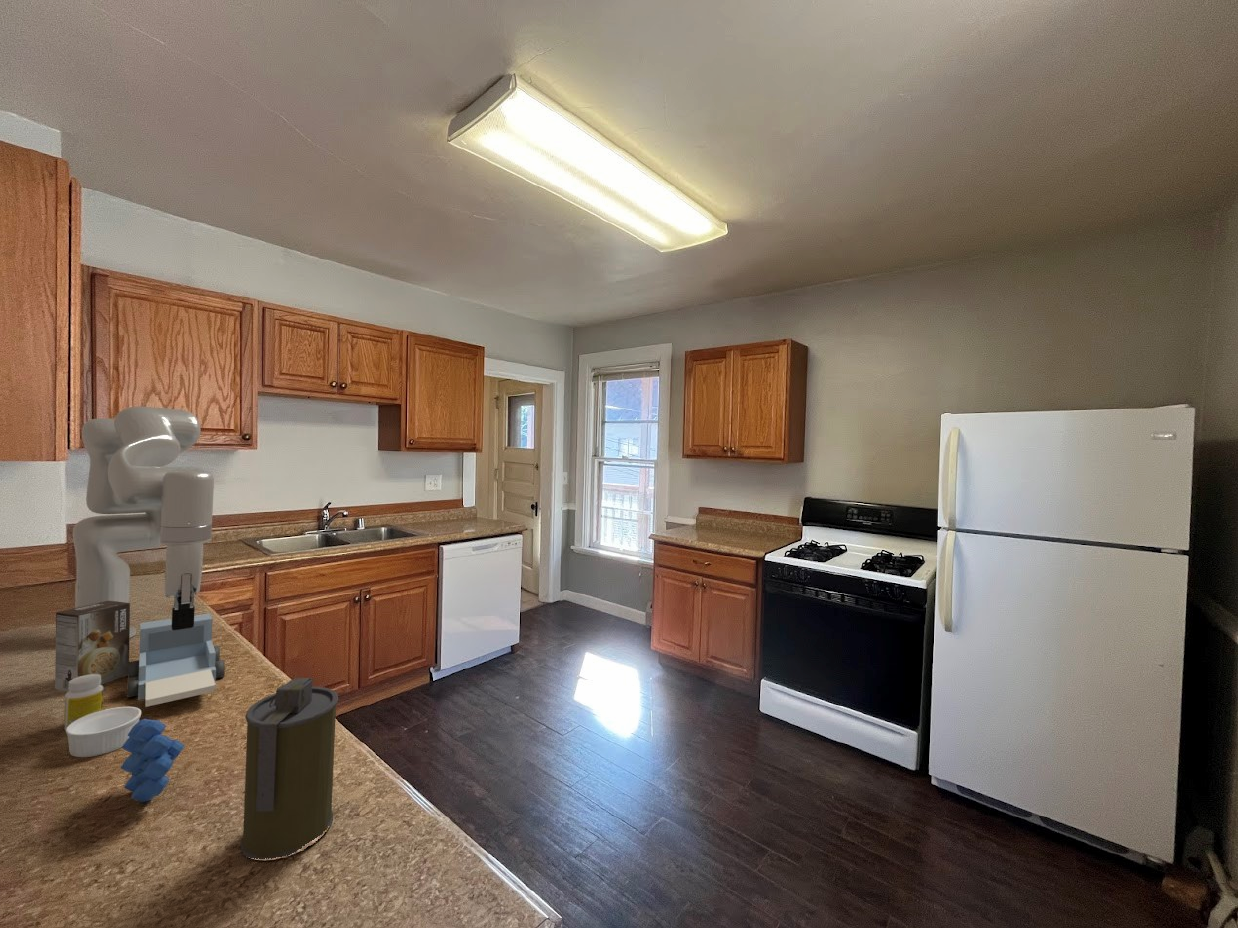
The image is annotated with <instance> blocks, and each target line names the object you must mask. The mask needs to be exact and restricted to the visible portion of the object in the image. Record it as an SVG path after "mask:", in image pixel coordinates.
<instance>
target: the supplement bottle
mask: <svg viewBox="0 0 1238 928" xmlns="http://www.w3.org/2000/svg"><path fill="white" fill-rule="evenodd" d="M100 684H101V675H99V674H90V675H84V676H80V677H77V678H74V679H72V680H70V681H69V685H68V690H69V692H65V696H64V717H63V729H64V731H66V728H67V727H68V726H69V725H70V724H71V723H72V722H74V721H75V720H77V719H79V718H81V717H84V716H86V715H88V714H91V713H94V712H98V711H101V710H104V686H103V684H102V685H100Z"/></svg>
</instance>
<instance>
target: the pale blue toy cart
mask: <svg viewBox="0 0 1238 928" xmlns="http://www.w3.org/2000/svg"><path fill="white" fill-rule="evenodd" d="M213 620H214V619H213V617H212V614H211V613H210V612H209V613H208V612H207V613H203V614H196V615H195V614H194V626H193V627H192V628H187V629H180V630H172V618H168V619H160V620H154V621H153V620H152V621H146V622H140V628H139V630H140V631H139V653H138V654H139V657H138V659H139V660H134V661H129V672H128V675H127V676H128V677H127V689H126V692H127V693H126V698H131V697H135V696H137V700H138V701H141V700H144V699H145V688H144V683H146V682H150V681H155V680H160V679H165V678H170V677H174V676H179V675H184V674H189V673H194V672H199V671H204V670H209V669H212V675H213V678H214V681H215V684H216V683H217V679H219V678H224V677H225V673H226V666H225V665H226V664H225V663H226V661H225V659H221V652H220V651H221V649H220V648H221V647H220V646H219V645H217V646H214V643H213ZM220 659H221V660H220Z"/></svg>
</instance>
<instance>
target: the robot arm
mask: <svg viewBox="0 0 1238 928" xmlns="http://www.w3.org/2000/svg"><path fill="white" fill-rule="evenodd" d="M200 437H201V424H200V421H199V419H198V418H197V415H195V414H194V413H192V412H190V411H188V410H186V409H179V408H177V409H176V408H175V409H174V408H164V407H152V406H131V407H127V408H124V409H122V410H120V411H118V412H117V414H116V415H115V416H114V418H107V417H106V418H103V417H102V418H101V417H100V418H92V419H89V420H87V421H86V422H85V423H84V424H83V426H82V429H81V439H82V442H83V445H84V448H85V450H86V451H87V454H88V457H89V461H90V462H89V471H88V479H87V486H86V487H87V488H86V498H85V500H86V507H87V508H88V510H89V511H91V512H92V513H96V514H97V515H96V516H91V517H87V518H83V519H81V520H79V521H78V522H77V523H76V524H75V525H74V527H73V528H72V541H73V546H74V552H75V560H76V577H75V578H76V587H75V588H76V589H75V590H76V591H75V608H78V607H82V606H86V605H91V604H95V603H100V602H104V601H118V602H125V603H130V590H131V586H130V585H131V569H130V565H129V564H128V563H127V562H126V561H125V560H124V559H122V558H120V556H119V555H118V553H123V552H131V551H139V550H152V549H156V548H159V547H162V546H163V545H165V546H166V551H165V552H166V553H165V554H166V555H165V567H164V569H165V570H164V596H165V597H166V598H168V599H170V598H171V596H173V607H172V608H171V610H172V611H171V619H172V630H180V629H187V628H192V627H193V626H194V615H195V610H196V609H195V605H194V604H195V603H194V602H195V601H194V600H195V595H196V596H197V595H198V594H199V593H200V591H201V590H200V589H201V583H202V575H203V561H204V544H205V543H209V542H211V541H212V536H213V535H212V534H213V533H212V532H213V510H214V509H213V508H214V489H215V488H214V487H215V477H214V476H213V474H212V473H211V472H209V471H205V470H203V469H202V468H199V467H192V466H191V467H190V466H168V465H170V464H171V463H172V462H173V463H174V462H175V460H176V459H177V458H178V457H179V455H181V453H183V452H185V451H186V450H189V449H190V448H191V447H193V446H194V445H195V444H196V443H197V442H198V441H199V439H200ZM98 514H99V515H98ZM136 634H137V628H136V627H134V626H130V636H129V637H130V638H129V639H131V638H133V637H135V635H136Z"/></svg>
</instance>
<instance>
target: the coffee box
mask: <svg viewBox="0 0 1238 928" xmlns="http://www.w3.org/2000/svg"><path fill="white" fill-rule="evenodd" d="M130 619H131V603H130V602H129V603H125V602H118V601H104V602H100V603H95V604H91V605H86V606H82V607H78V608H76V607H74V608H69V609H65V610H61V611H57V612H55V661H54V662H55V663H54V664H55V667H54V675H55V676H54V689H55V690H56V691H61V692H65V693H67V692H69V690H68V685H69V681H70V680H72V679H74V678H77V677H80V676H84V675H90V674H99V675H101V684H100V685H102V686H103V685H104V684H108V683H110V682H113V681H116V680H118V679H119V680H120V678H125V677H127V676H128V672H129V662H130V639H131V638H130V637H129V636H130V627H131V625H130V624H131V623H130V621H131V620H130Z"/></svg>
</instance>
